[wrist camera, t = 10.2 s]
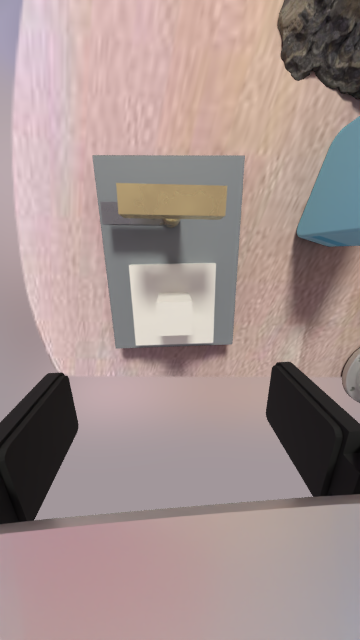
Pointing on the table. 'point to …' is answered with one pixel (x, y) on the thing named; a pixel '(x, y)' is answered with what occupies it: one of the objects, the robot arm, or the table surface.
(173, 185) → the tan t-shaped piece
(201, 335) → the lid
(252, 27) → the table surface
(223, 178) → the plate
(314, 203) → the data package
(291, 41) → the geode
